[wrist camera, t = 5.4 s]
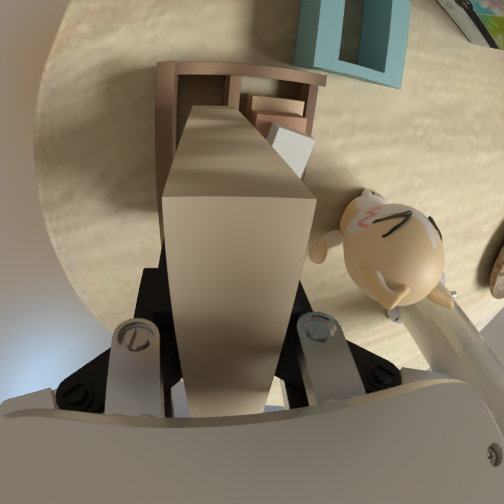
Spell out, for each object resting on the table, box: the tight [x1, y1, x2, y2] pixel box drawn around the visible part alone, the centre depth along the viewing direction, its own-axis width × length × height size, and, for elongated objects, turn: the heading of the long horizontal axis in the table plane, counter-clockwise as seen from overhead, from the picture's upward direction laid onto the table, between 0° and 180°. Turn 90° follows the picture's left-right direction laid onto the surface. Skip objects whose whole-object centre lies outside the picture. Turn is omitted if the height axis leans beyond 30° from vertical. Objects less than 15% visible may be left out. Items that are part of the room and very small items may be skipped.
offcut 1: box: [245, 93, 305, 122], centre depth 26 cm, size 4×9×3 cm, turn 174°
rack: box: [155, 61, 327, 247], centre depth 24 cm, size 13×15×6 cm
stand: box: [294, 0, 411, 89], centre depth 17 cm, size 8×15×5 cm, turn 175°
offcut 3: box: [266, 122, 316, 178], centre depth 22 cm, size 3×5×2 cm, turn 161°
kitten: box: [309, 190, 454, 310], centre depth 27 cm, size 15×10×15 cm
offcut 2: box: [250, 110, 307, 139], centre depth 24 cm, size 4×7×2 cm, turn 175°
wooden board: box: [162, 105, 317, 418], centre depth 13 cm, size 2×10×14 cm, turn 175°
